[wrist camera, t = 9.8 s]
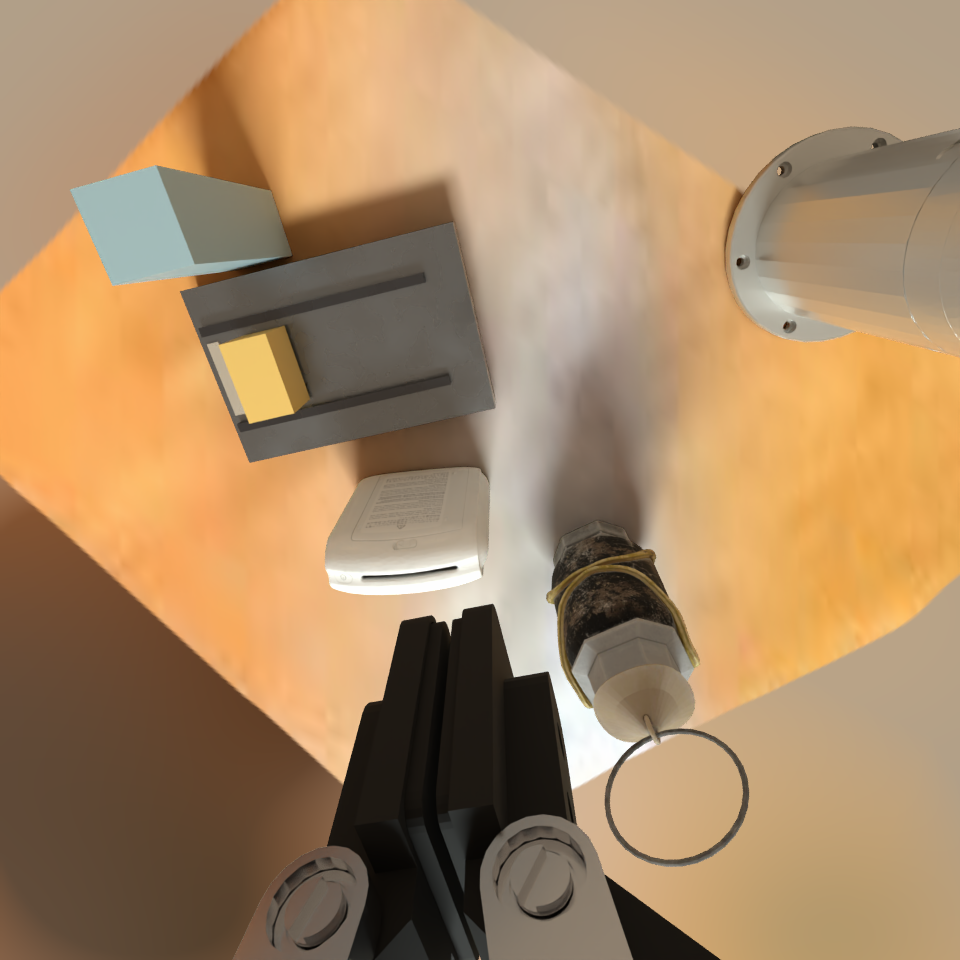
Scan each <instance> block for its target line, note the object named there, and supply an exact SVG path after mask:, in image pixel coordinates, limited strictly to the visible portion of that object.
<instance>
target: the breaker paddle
mask: <svg viewBox="0 0 960 960" xmlns="http://www.w3.org/2000/svg"><path fill="white" fill-rule="evenodd" d="M218 346H219V348H220V351H221V353H222V356H223V358H224V361H225V363H226V366H227V369H228V371H229V374H230V376H231V379H232V381H233V384H234V386H235V389H236V391H237V394H238V396H239V399H240V401H241V404H242V406H243V409H244V411H245V414H246V417H247V419H248V422H249V424H250V423H254V422H259V421H263V420H267V419H272V418H276V417H281V416H285V415H289V414H294V413H295V412H296V411H298V410H299V409H300V408H301V407H302V406H303V405H304V404H305V403H306V402H308V401H309V400H310V397H309V394H308V392H307V389H306V386H305V383H304V380H303V377H302V374H301V371H300V369H299V366H298V363H297V360H296V357H295V354H294V351H293V349H292V346H291V343H290V340H289V337H288V334H287V331H286V329H285V326H281V327H276V328H272V329H268V330H264V331H260V332H256V333H252V334H248V335H244V336H240V337H238V338H235V339H233V340H230V341H228V342H225V343H222V344H220V345H218Z"/></svg>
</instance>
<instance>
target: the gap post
mask: <svg viewBox="0 0 960 960" xmlns="http://www.w3.org/2000/svg"><path fill="white" fill-rule="evenodd" d="M70 191H71V193H72V196H73V198H74V200H75V202H76V205H77V207H78V209H79V211H80V214H81V216H82V218H83V220H84V223H85V225H86V227H87V229H88V232H89V234H90V236H91V238H92V241H93V243H94V245H95V247H96V250H97V252H98V254H99V256H100V258H101V261H102V263H103V265H104V267H105V270H106V272H107V274H108V276H109V279H110V281H111V283H112V285H113V286H115V285H123V284H131V283H139V282H147V281H155V280H163V279H171V278H179V277H187V276H195V275H203V274H211V273H219V272H227V271H235V270H239V269H243V268H247V267H251V266H255V265H259V264H263V263H267V262H271V261H274V260H278V259H282V258H286V257H290V256H293V255H292V252H291V249H290V246H289V243H288V240H287V237H286V234H285V231H284V228H283V225H282V222H281V219H280V216H279V213H278V210H277V207H276V204H275V201H274V198H273V195H272V192H271V191H270V190H266V189H261V188H257V187H252V186H248V185H243V184H239V183H234V182H229V181H225V180H220V179H216V178H211V177H207V176H202V175H197V174H193V173H188V172H184V171H179V170H175V169H170V168H166V167H161V166H152V167H149V168H145V169H141V170H138V171H134V172H131V173H127V174H124V175H120V176H117V177H113V178H109V179H106V180H102V181H99V182H95V183H92V184H89V185H85V186H81V187H78V188H74V189H70Z"/></svg>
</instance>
